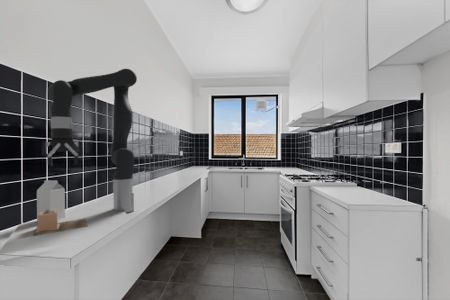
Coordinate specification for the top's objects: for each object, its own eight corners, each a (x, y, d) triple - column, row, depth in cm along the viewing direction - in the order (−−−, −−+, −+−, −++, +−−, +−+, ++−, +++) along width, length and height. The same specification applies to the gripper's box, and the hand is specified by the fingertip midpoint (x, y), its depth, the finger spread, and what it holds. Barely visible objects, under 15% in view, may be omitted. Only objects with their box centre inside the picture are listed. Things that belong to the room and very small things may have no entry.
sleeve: (57, 224, 91) (57, 209, 92) (56, 228, 87) (56, 212, 87) (40, 227, 88) (40, 212, 88) (38, 231, 84) (38, 215, 84)
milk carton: (50, 225, 96) (49, 181, 96) (36, 224, 97) (36, 181, 97) (65, 220, 103) (64, 179, 103) (52, 219, 104) (52, 179, 104)
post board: (86, 221, 100) (86, 201, 100) (87, 229, 90) (87, 207, 90) (37, 229, 91) (37, 207, 91) (32, 240, 80) (32, 214, 80)
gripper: (81, 129, 103) (82, 163, 103) (41, 128, 95) (43, 166, 95) (81, 127, 97) (83, 164, 97) (39, 126, 89) (41, 167, 89)
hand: (63, 165), depth 96 cm, fingers open, 8 cm apart
